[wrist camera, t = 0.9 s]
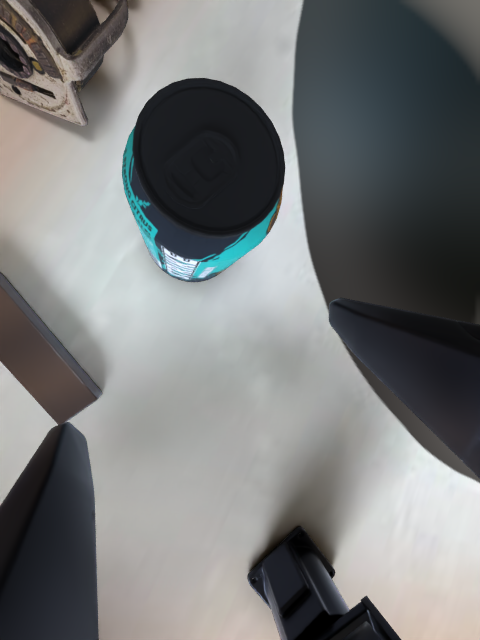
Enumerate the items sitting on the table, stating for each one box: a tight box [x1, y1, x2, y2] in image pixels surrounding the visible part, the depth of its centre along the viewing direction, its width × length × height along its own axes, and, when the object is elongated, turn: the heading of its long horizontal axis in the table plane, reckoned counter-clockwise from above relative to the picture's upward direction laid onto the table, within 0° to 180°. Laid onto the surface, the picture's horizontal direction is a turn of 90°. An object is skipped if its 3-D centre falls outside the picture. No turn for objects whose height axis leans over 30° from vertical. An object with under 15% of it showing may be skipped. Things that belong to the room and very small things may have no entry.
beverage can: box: [122, 78, 285, 282], centre depth 16 cm, size 7×7×12 cm
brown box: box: [0, 273, 102, 425], centre depth 18 cm, size 11×3×2 cm, turn 35°
